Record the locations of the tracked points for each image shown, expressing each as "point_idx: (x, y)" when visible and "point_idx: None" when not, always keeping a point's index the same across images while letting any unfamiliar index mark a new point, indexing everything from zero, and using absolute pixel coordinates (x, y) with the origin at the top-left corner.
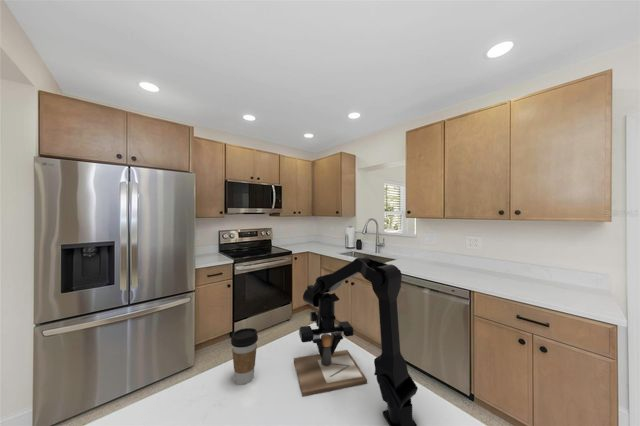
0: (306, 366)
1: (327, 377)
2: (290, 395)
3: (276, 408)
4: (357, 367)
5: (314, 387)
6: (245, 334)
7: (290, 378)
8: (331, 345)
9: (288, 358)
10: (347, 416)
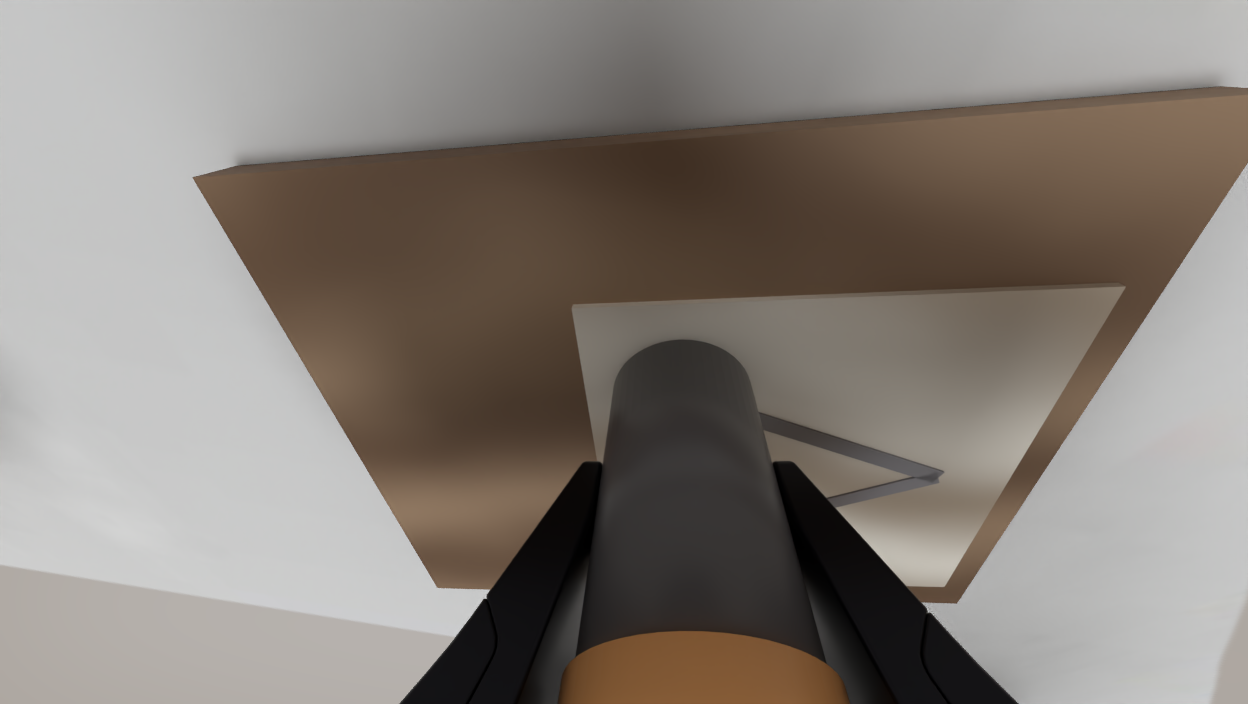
0: (430, 381)
1: None
2: (369, 541)
3: (317, 582)
4: (1006, 499)
5: None
6: None
7: (313, 423)
8: (826, 625)
9: (108, 58)
10: None
